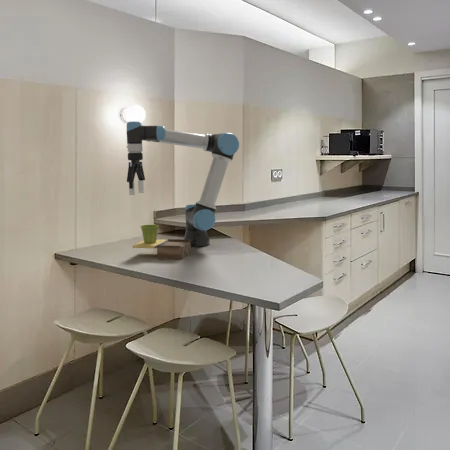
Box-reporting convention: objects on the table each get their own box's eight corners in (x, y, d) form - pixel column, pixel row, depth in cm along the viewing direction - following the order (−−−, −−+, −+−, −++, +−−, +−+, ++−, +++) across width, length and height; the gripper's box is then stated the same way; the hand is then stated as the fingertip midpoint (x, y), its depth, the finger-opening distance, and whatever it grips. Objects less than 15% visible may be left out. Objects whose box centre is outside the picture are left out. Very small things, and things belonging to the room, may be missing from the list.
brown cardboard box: (180, 259, 245) (180, 245, 244) (157, 259, 248) (156, 245, 246) (190, 252, 262) (190, 239, 261) (168, 251, 265) (168, 238, 264)
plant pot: (150, 240, 263) (150, 224, 262) (163, 242, 257) (162, 225, 256) (137, 243, 256) (136, 226, 255) (149, 244, 250) (148, 227, 249)
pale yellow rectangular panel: (156, 246, 246) (132, 245, 249) (156, 248, 247) (132, 248, 249) (168, 239, 264) (145, 239, 267) (168, 241, 264) (145, 241, 267)
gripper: (136, 152, 268) (138, 191, 271) (118, 152, 243) (120, 196, 246) (149, 152, 266) (151, 191, 269) (133, 152, 242) (135, 196, 245)
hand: (136, 194), depth 258 cm, fingers open, 13 cm apart
